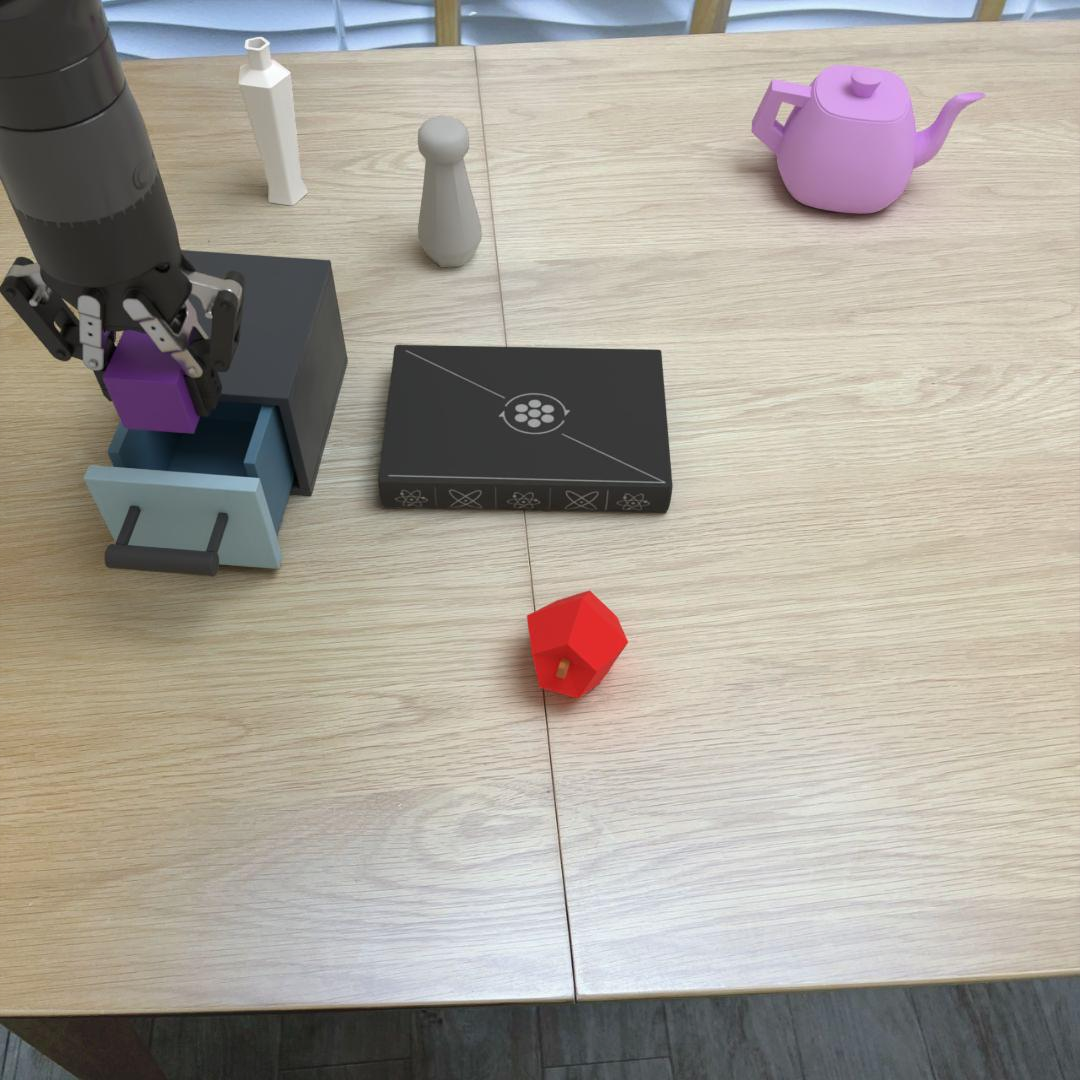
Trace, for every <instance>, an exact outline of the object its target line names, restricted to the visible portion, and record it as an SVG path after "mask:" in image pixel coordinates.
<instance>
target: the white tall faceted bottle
mask: <svg viewBox="0 0 1080 1080" xmlns="http://www.w3.org/2000/svg"><path fill="white" fill-rule="evenodd" d="M244 41H245V42H244V49H245V50H246V53H247V55H248V56H247V57H248V61H249V62H247V63H245V64H242V65H240V67H239V74H238V82H237V83H238V87H239V89H240V93H241V96H242V100H243V103H244V106H245V110H246V113H247V116H248V121H249V123H250V126H251V130H252V133H253V137H254V140H255V144H256V147H257V150H258V153H259V157H260V161H261V163H262V168H263V170H264V173H265V177H266V181H267V184H268V192H267V193H268V196H267V200H268V201H267V202H268V203H271V204H278V205H283V206H284V205H285V206H295V205H296V204H297V203H298V202H299V201H301V200H303V198H304V197H305V196H306V195H307V194H308V193H309V191H308V189H307V187H306V185H305V183H304V181H303V179H302V171H301V162H300V154H299V153H300V151H299V142H298V133H297V124H296V114H295V104H294V95H293V94H294V93H293V84H292V75H291V71H290V70H288V69H287V68H286V67H285V66H283V65H282V64H280V63H279V62H278V61H276V60H275V59H272V56H271V50H270V45H271V42H270V41H269V40H267V39H266V38H264V37H263V36H257V37H252V38H248V39H246V40H244Z"/></svg>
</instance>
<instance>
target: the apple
mask: <svg viewBox="0 0 1080 1080" xmlns="http://www.w3.org/2000/svg"><path fill="white" fill-rule="evenodd" d="M526 620H527V627H528V633H529V635H528V636H529V643H530V649H531V656H532V660H533V666H534V668H535V669H534V670H535V673H536V677H537V678H536V679H537V682H538V686H539V688H540V689H543V690H546V691H550V692H555V693H558V694H561V695H565V696H569V697H572V698H576V699H581V698H582V697H583V696H584V695H587V693H589V692H591V691H592V690H593V689H595V688H596V687H597V686H599V685H600V684H601V682H602V681H603V680H604V679H605V677H606V676H607V674H608V673H609V671H610V670H611V669H612V667H613V666H614V664H615V662H616V661H617V659H618V658H619V657H620V656H621V654H622V652H623V651H624V649H625V648H626V646H627V645H628V644H629V641H628V638H627V635H626V634H625V631H624V629H623V627H622V624H621V622H620V619H619V618H618V616H617V615H616V614H615V613H614V612H613V611H612V610H611V609H610V608H609V607H608V606H607V605H606V604H605V603H604V602H603V601H602V600H601V599H599V598H598V596H597V595H595V594H594V593H593V592H592V590H590V589H589V590H586V591H582V592H579V593H577V594H573V595H570V596H567V597H564V598H561V599H558V600H555V601H553V602H551V603H548V604H546V605H544V606H543V607H540V608H539V609H537V610H535V611H532V612H531V613H529V614H527V615H526Z"/></svg>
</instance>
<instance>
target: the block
mask: <svg viewBox="0 0 1080 1080" xmlns="http://www.w3.org/2000/svg"><path fill="white" fill-rule="evenodd" d="M116 346H117V347H116V349H115V351H114V353H113V355H112V358H111V360H110V362H109V364H108V366H107V369H106V371H105V373H104V375H103V381H104V383H105V385H106V388H107V390H108V392H109V395H110V397H111V399H112V404H113V405H114V408H115V412H116V413H117V415H118V418H119V420H120V421H121V422H122V425H123V427H124V428H125V429H138V430H151V431H165V432H178V433H191V434H193V433H194V432H195V429H196V426H197V424H198V421H199V418H200V416H198V415H197V414H196V412H195V409H194V406H193V403H192V400H191V397H190V394H189V391H188V389H187V386H186V383H185V380H184V374H185V373H184V372H183V371H182V369H181V368H180V367H179V365H178V364H177V363H176V362H175V360H174V359H173V358H172V356H171V355H170V354H169V353H166V354H163V353H162V352H161V351H160V350H159V348H158V347H157V346H156V345H155V343H154V342H153V341H152V339H151V338H150V337H149V335H148V334H145V333H141V332H137V331H133V330H125V331H122V333H121V336H120V337H119V340H118V343H117V344H116Z"/></svg>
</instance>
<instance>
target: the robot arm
mask: <svg viewBox="0 0 1080 1080" xmlns="http://www.w3.org/2000/svg"><path fill="white" fill-rule="evenodd" d="M102 1H103V0H0V182H1V184H2V186H3V187H2V188H3V189H4V191H5V193H6V195H7V198H8V201H9V203H10V205H11V207H12V209H13V212H14V214H15V216H16V218H17V222H18V223H19V225H20V227H21V229H22V232H23V234H24V237H25V238H26V241H27V243H28V245H29V248H30V250H31V252H32V254H33V258H34V259H35V261H36V263H35V262H34V261H33V259H30V258H28V257H26V256H17V257H16V258H15V259H14V261H13V263H12V264H11V266H10V267H9V269H8V271H7V272H6V274H5V276H4V278H3V280H2V282H1V283H0V295H1V296H2V297H3V298H4V299H5V301H6V302H7V303H8V304H9V305H10V306H11V308H12V309H13V310H14V311H15V312H16V314H17V315H18V316H19V317H20V319H21V320H22V321H23V322H24V324H25V325H26V326H27V327H28V328H29V330H30V331H31V332H32V333H33V334H34V335H35V336H36V338H37V339H38V340H39V342H40V343H41V344H42V345H43V346H44V348H45V349H46V350H47V351H48V352H49V354H51V356H52V357H53V358H55V359H56V360H58V361H61V362H69V361H70V360H71V359H72V358H74V359H77V360H80V361H82V363H83V365H84V366H85V367H86V368H87V369H89V370H91V371H93V374H94V376H95V378H96V381H97V383H98V385H99V388H100V389H101V392H102V395H103V396H104V397H105V399H106V400H108V402H112V399H111V397H110V395H109V392H108V390H107V388H106V385H105V383H104V381H103V375H104V373H105V371H106V369H107V366H108V364H109V362H110V360H111V358H112V355H113V353H114V351H115V349H116V347H117V345H116V344H115V343H116V340H117V332H123V331H125V330H133V331H137V332H141V333H145V334H148V335H149V337H150V338H151V339H152V341H153V342H154V343H155V345H156V346H157V347H158V348H159V350H160V351H161V352H162V353H163V354H166V353H169V354H170V355H171V356H172V358H173V359H174V360H175V362H176V363H177V364H178V365H179V367H180V368H181V369H182V371H183V372H184V373H185V374H184V380H185V383H186V386H187V389H188V391H189V394H190V397H191V400H192V403H193V406H194V409H195V412H196V414H197V415H198V416H209V415H210V413H211V410H212V409H216V406H217V403H218V400H219V397H220V395H221V391H222V384H221V382H220V378H219V375H218V372H226V371H228V370H229V368H230V365H231V362H232V360H233V357H234V354H235V351H236V348H237V346H238V343H239V340H240V331H241V321H242V312H243V302H244V293H245V283H246V280H245V278H244V276H243V275H242V274H241V273H239V272H237V271H228V272H226V273H225V275H224V278H223V279H220V278H217V277H213V276H210V275H206V274H202V273H199V272H196V269H195V267H194V265H193V263H192V262H191V261H190V260H189V259H188V258H187V257H186V256H185V254H184V253H183V252H182V250H183V249H182V248H181V244H180V240H179V233H178V227H177V224H176V220H175V217H174V214H173V211H172V208H171V204H170V200H169V198H168V195H167V191H166V187H165V185H164V182H163V178H162V175H161V172H160V169H159V166H158V162H157V159H156V156H155V152H154V149H153V145H152V142H151V139H150V136H149V133H148V129H147V126H146V123H145V120H144V117H143V114H142V112H141V110H140V108H139V106H138V103H137V101H136V100H135V97H134V94H133V93H132V91H131V89H130V86H129V84H128V81H127V78H126V76H125V73H124V70H123V67H122V64H121V61H120V58H119V57H120V56H119V55H118V51H117V48H116V44H115V41H114V38H113V35H112V32H111V28H110V24H109V20H108V18H107V14H106V12H105V9H104V5H103V2H102ZM190 294H192V295H194V296H196V297H197V298H199V300H200V301H201V303H202V308H203V309H204V310H205V311H206V312H205V317H207V318H208V319H212V330H211V338H209V337H208V336H207V334H206V333H205V331H204V330H203V328H202V327H201V326H200V324H199V323H198V321H197V313H196V310H195V308H194V307H193V306H192V304H191V303H190V301H189V300H188V297H189V295H190ZM68 304H69V305H70V306H71V307H72V308H74V309H75V310H76V311H77V313H78V314H79V316H78V317H79V318H78V317H77V315H76V314H75V313H74V312H73V310H72V309H71V307H69V305H68ZM56 325H57V327H58V328H59V329H58V328H57V327H56ZM59 330H60V331H59ZM217 371H218V372H217ZM112 403H113V402H112Z"/></svg>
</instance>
